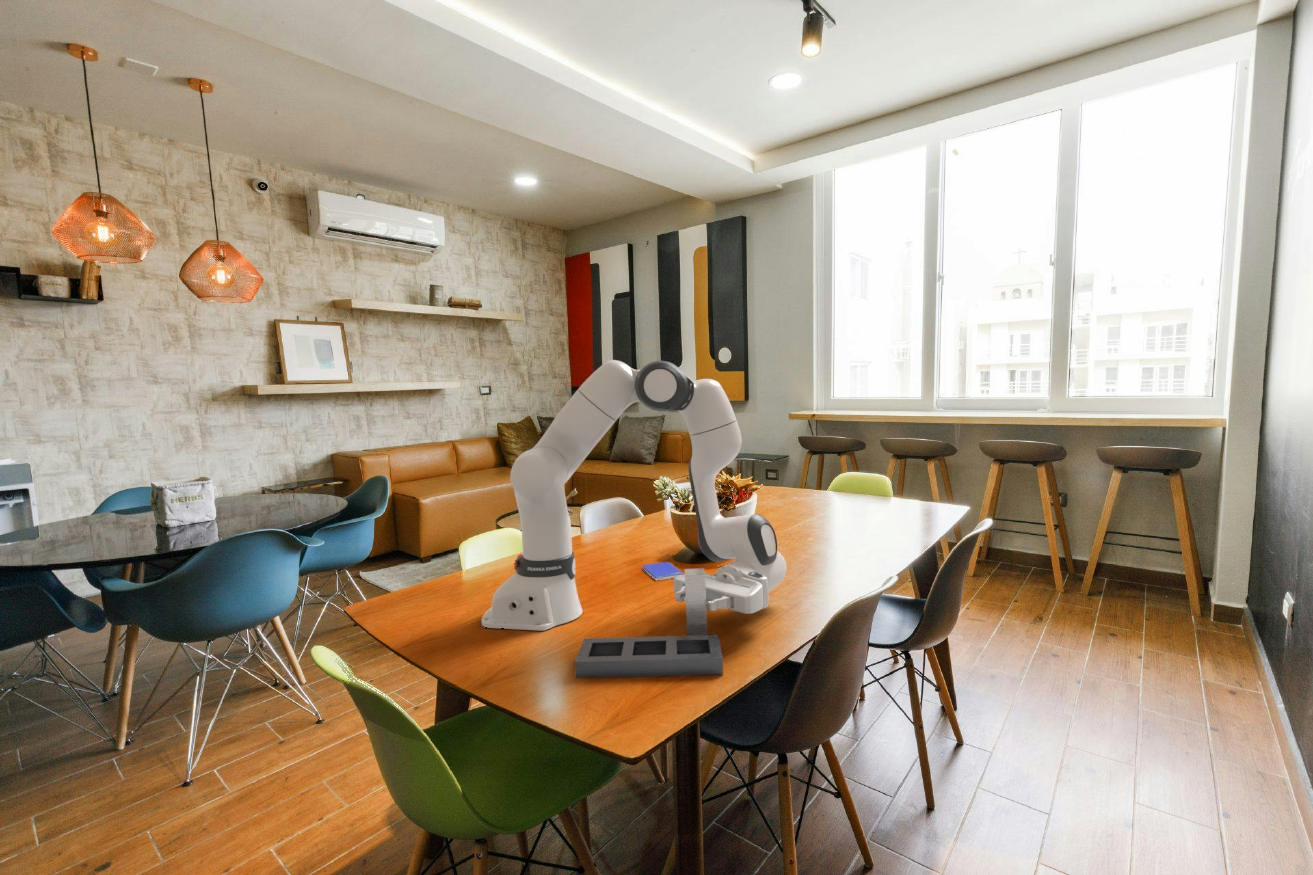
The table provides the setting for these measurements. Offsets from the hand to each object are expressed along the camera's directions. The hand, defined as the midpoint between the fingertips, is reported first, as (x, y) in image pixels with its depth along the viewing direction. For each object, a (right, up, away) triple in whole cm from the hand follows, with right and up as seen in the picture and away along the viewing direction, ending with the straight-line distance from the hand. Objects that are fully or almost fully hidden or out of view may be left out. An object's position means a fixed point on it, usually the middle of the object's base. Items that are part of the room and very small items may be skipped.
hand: (692, 602), depth 117 cm
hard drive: (-5, -6, +47) cm, 48 cm away
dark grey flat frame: (-8, -9, -8) cm, 15 cm away
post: (+1, -8, +1) cm, 8 cm away
